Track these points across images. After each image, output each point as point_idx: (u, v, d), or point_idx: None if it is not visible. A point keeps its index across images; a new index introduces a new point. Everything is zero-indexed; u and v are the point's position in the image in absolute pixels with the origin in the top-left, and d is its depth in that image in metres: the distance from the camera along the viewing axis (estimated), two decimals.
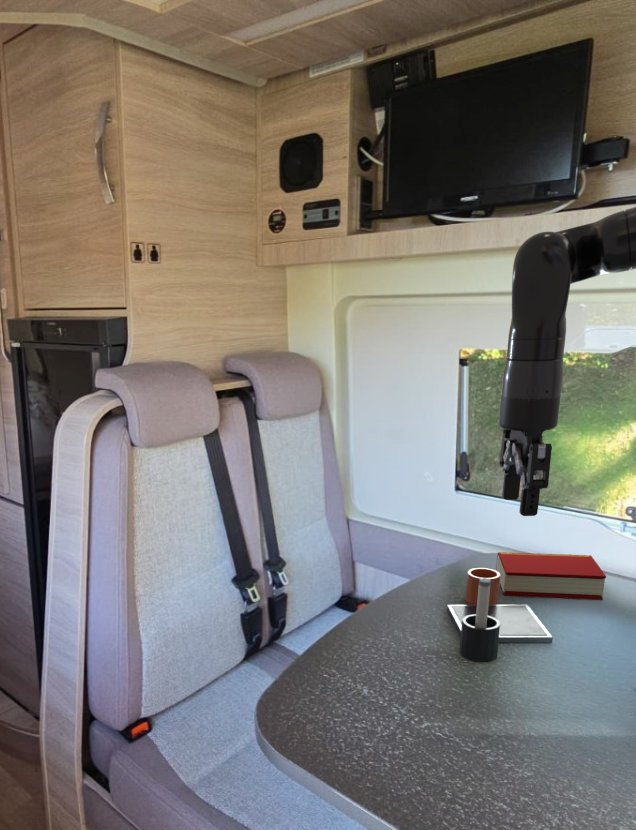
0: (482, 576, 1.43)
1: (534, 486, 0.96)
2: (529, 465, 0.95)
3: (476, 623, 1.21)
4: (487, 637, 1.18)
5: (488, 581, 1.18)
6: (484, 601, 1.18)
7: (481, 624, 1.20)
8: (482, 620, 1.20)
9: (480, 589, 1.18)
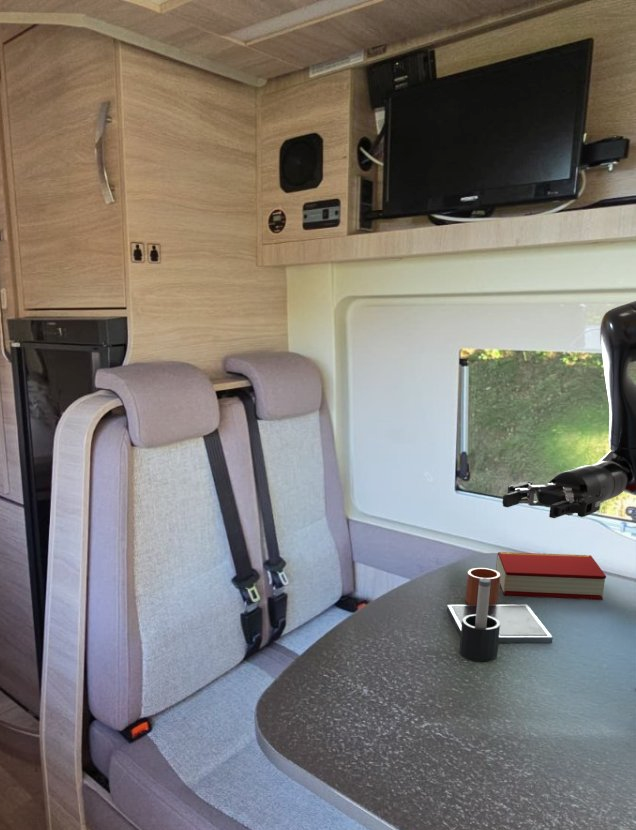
0: (482, 576, 1.43)
1: None
2: None
3: (476, 623, 1.21)
4: (487, 637, 1.18)
5: (488, 581, 1.18)
6: (484, 601, 1.18)
7: (481, 624, 1.20)
8: (482, 620, 1.20)
9: (480, 589, 1.18)
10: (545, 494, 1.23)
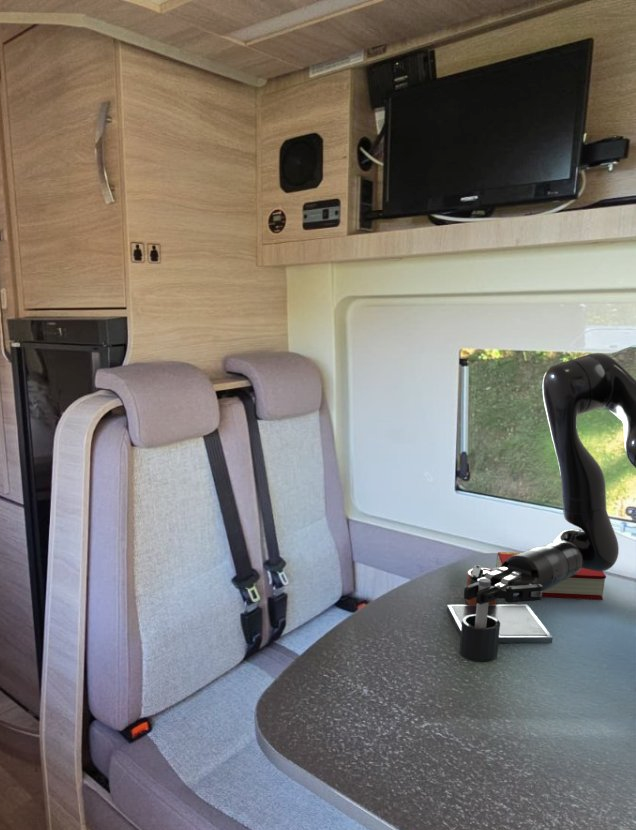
0: None
1: (470, 584, 1.23)
2: None
3: (476, 623, 1.21)
4: (487, 637, 1.18)
5: (488, 581, 1.18)
6: None
7: (481, 624, 1.20)
8: (482, 620, 1.20)
9: (480, 589, 1.18)
10: (496, 579, 1.21)
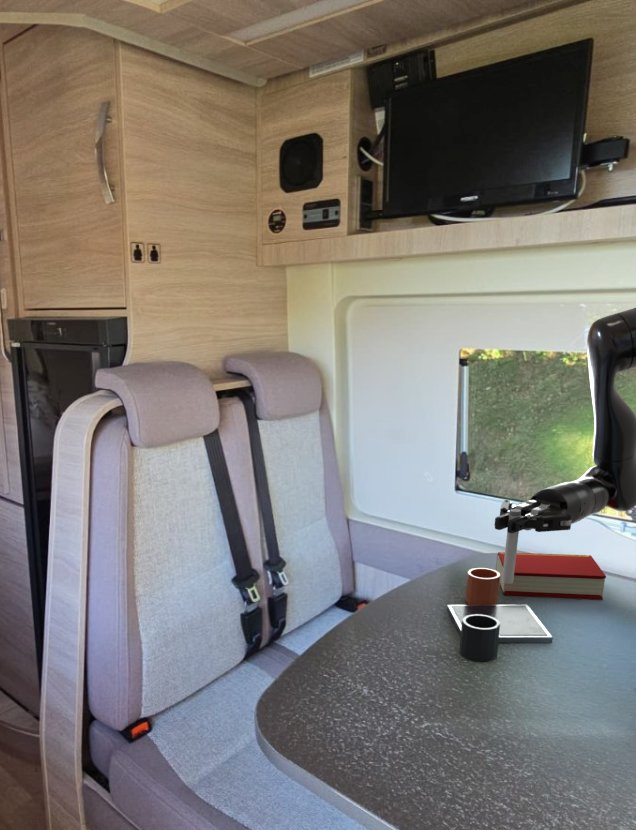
0: (482, 576, 1.43)
1: None
2: None
3: (506, 554, 1.23)
4: (487, 637, 1.18)
5: (518, 511, 1.20)
6: None
7: (511, 554, 1.22)
8: (512, 550, 1.22)
9: (510, 519, 1.21)
10: (525, 511, 1.24)
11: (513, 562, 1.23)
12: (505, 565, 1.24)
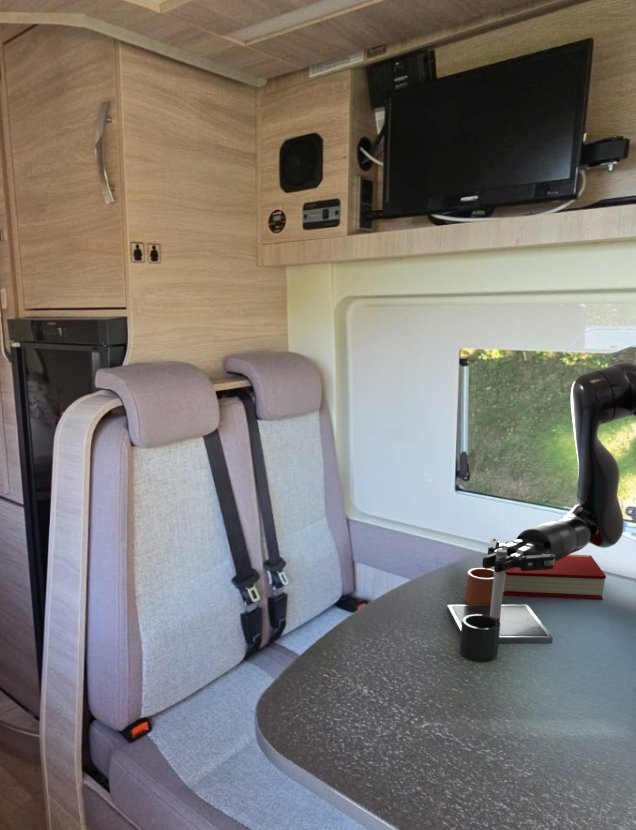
0: (482, 576, 1.43)
1: (487, 555, 1.34)
2: None
3: (493, 590, 1.31)
4: (487, 637, 1.18)
5: (505, 551, 1.28)
6: None
7: (498, 591, 1.30)
8: (499, 587, 1.30)
9: (497, 559, 1.29)
10: (511, 550, 1.32)
11: (500, 598, 1.31)
12: (492, 601, 1.32)
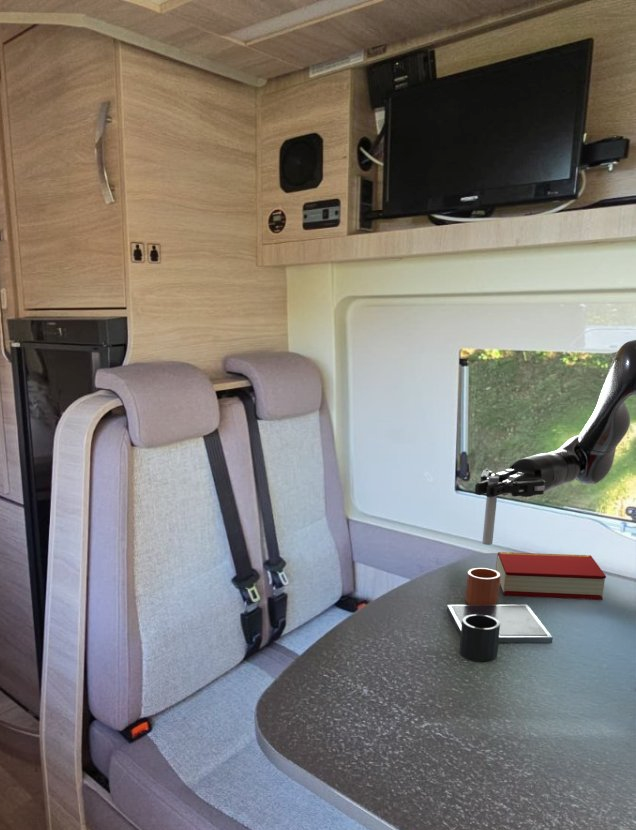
0: (482, 576, 1.43)
1: None
2: None
3: (485, 517, 1.35)
4: (487, 637, 1.18)
5: (496, 477, 1.32)
6: None
7: (490, 517, 1.35)
8: (491, 514, 1.35)
9: None
10: (503, 479, 1.36)
11: (492, 524, 1.35)
12: (485, 527, 1.36)
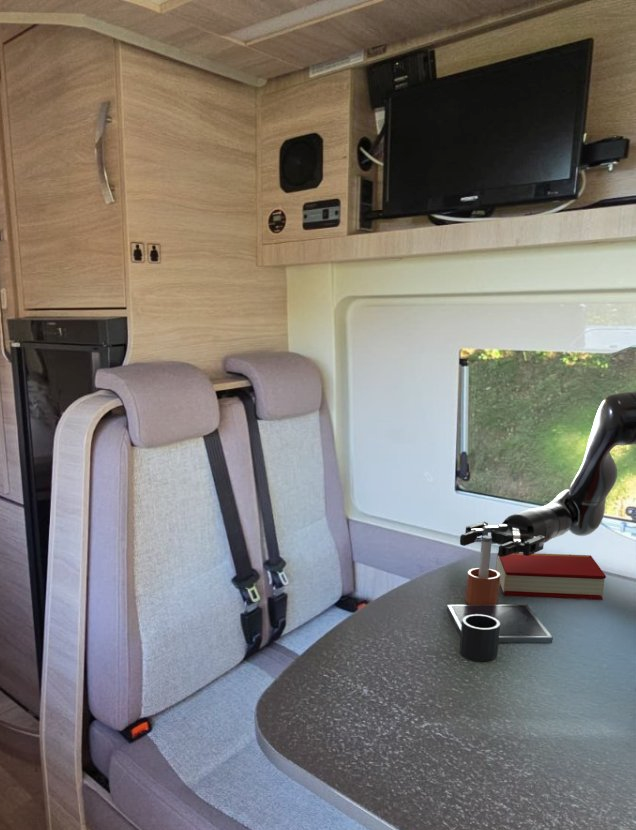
0: None
1: None
2: None
3: (479, 574, 1.41)
4: (487, 637, 1.18)
5: (489, 537, 1.38)
6: (486, 555, 1.38)
7: (483, 575, 1.40)
8: (484, 571, 1.40)
9: (483, 544, 1.38)
10: (497, 534, 1.41)
11: None
12: None
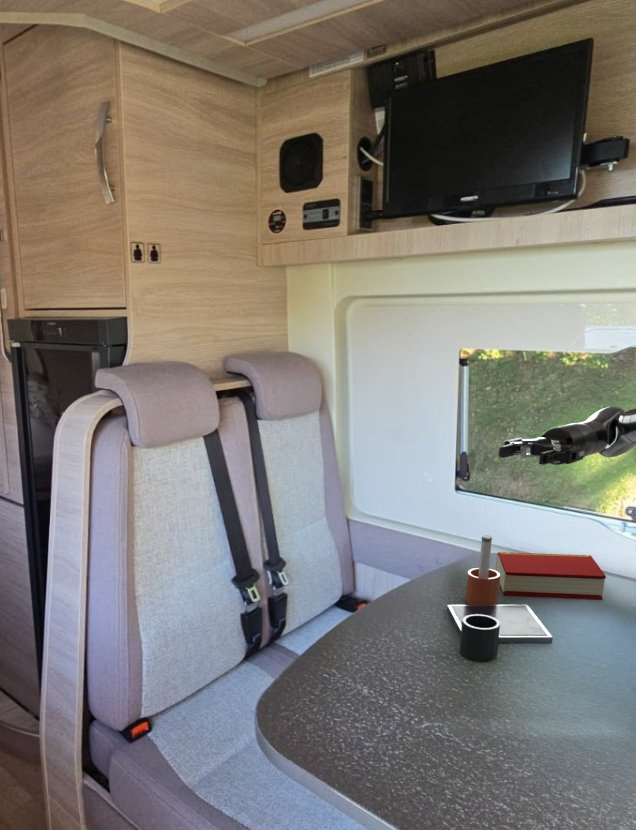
0: None
1: None
2: None
3: (479, 574, 1.41)
4: (487, 637, 1.18)
5: (489, 537, 1.38)
6: (486, 555, 1.38)
7: (483, 575, 1.40)
8: (484, 571, 1.40)
9: (483, 544, 1.38)
10: (536, 446, 1.41)
11: None
12: None
